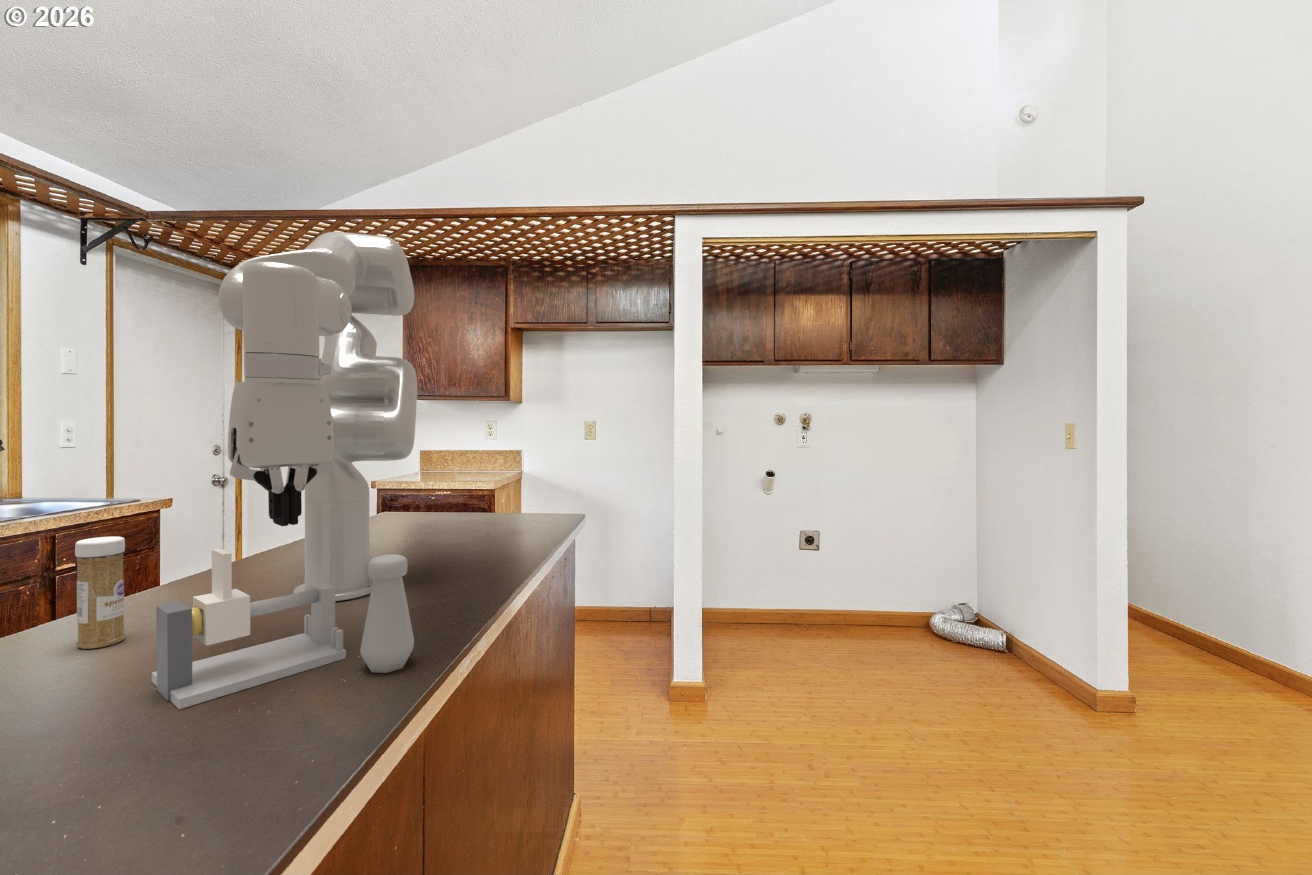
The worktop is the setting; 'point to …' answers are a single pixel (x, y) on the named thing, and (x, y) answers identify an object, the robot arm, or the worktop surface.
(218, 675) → the slider rail rig
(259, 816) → the worktop surface
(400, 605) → the salt shaker
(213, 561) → the square collar block
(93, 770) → the worktop surface
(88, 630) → the sprinkles bottle
